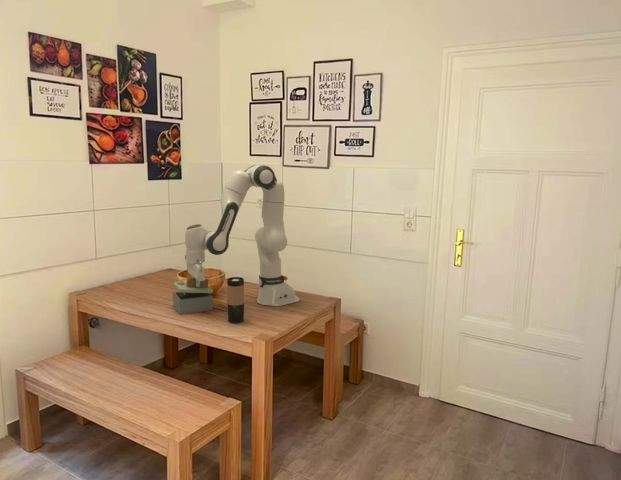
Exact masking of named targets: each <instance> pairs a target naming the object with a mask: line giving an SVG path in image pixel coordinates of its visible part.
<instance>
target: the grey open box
mask: <svg viewBox="0 0 621 480" xmlns="http://www.w3.org/2000/svg"><path fill="white" fill-rule="evenodd" d="M213 301H214V299H213V295H212V293H183V292H179V291H176V292H175V291H174V292H172V303H173V304H172V306H173V308H174V309H175V311H176V312H177V313H178V314H179V315H186V314H193V313H200V312H207V311H209V312H210V311H213V310H214V309H213V308H214V306H213V305H214V304H213Z"/></svg>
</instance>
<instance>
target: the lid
mask: <svg viewBox="0 0 621 480" xmlns="http://www.w3.org/2000/svg"><path fill="white" fill-rule="evenodd" d="M195 283H196V279H195V278H192V277H191V278H190V277H187V278H186V282H177V281H175V282H173V287H174V288H175V289H176V290H177V292H183V293H210V294H214V289H213V288H212V287H211V286H209V279H208V278H205V280H204V281H200V287H196V284H195Z"/></svg>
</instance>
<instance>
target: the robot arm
mask: <svg viewBox="0 0 621 480" xmlns="http://www.w3.org/2000/svg"><path fill="white" fill-rule="evenodd" d="M252 187H256V188H260V189H261V190H262V202H261V203H262V204H261V219H262V223H263V227H259V228H258V229H256V231H255V233H254V239H255V242H256V245H257V253H258V258H259V275H258V286H259V287H258V288H259V289H258V295H257V296H258V297H257V299H256V303H258V304H260V305H263V306H272V307H280V306H281V307H282V306H286V305H289V304H290V305H291V304H295V303H299V302H300V297H298V296H297V295H296V292H295V289H294V287H293V286H291V285H289V284H288V282H287V281H288V279H289V278H288V276H285V275H283V274H282V260H281V257H280V253H279V252H283V251H284V250H285V249H286V247H287V245H288V238H287V235H286V232H285V231H286V230H285V224H284V223H285V222H284V209H285V207H284V206H285V186H284V183H283V182H282V181H280V180H278V179H277V177H276V175H275V172H274V170H273V169H272V168H271V167H270V166H268V165H263V164H257V165H256V164H254V165H251V166H248V168H247V169H245V170H240V169H237V170H234V171H233V172H232V173H231V175H230V177H229V178H228V180H227V182H226V183H225V184H224V186H223V190H222V192H221V194H220V195H221V196H220V204H221V208H222V213H221V218H220V220H219V223H218V224H217V228H216V230H215V229H210V228H208V227H205V226H203V225H202V224H199V223H198V224H192V225H190V226H187V228H186V229H185V235H184V237H185V247H186V249H185V255H184V259H185V261H186V268H187V269H186V270H187V273H188V274H189V275H190V276H191V278H195V279H196V283H195V284H196V287H200V281H204V280H205V279H206V272H205V271H206V269H205V266H204V265H205V264H203V263H205V262H206V254H205V253H206V252H205V251H208V252H209V253H210V254H212V255H215V256H219V255H223V254H225V252H226V251H227V250H228V248H229V241H230V240H229V238H230V234H231V231H232V230H233V229H232V228H233V226H234V223H235V221H236V218H237V215H238V212H239V211H240V208H241V206H242V204H243V202H244V201H245V198H246V195H247V193H248V191H249V189H250V188H252ZM285 281H286V282H285Z"/></svg>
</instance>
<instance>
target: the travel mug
mask: <svg viewBox="0 0 621 480" xmlns="http://www.w3.org/2000/svg"><path fill="white" fill-rule="evenodd" d="M226 281H227V282H226V284H227V287H226V288H227V291H226V292H227V296H226V297H227V299H226V301H227V304H226V305H227V319H228V320H227V321H228V322H229V323H230V324H241V323H243V322H244V320H245V285H244V284H245V283H244V282H245V279H244V278H243V277H239V276H233V277H229V278H227V279H226Z"/></svg>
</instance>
